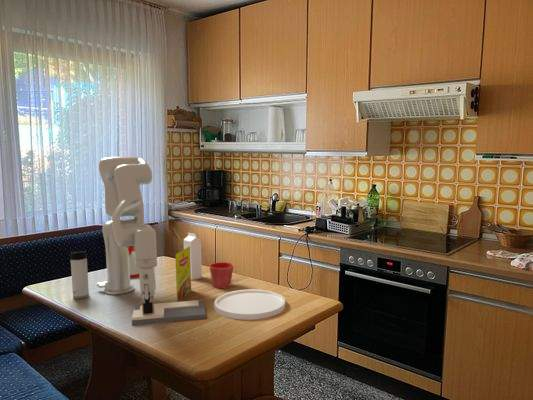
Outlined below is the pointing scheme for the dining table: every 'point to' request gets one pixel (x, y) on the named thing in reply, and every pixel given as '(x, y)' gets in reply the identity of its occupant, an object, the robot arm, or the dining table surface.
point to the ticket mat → (176, 312)
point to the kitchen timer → (132, 263)
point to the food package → (183, 273)
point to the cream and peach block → (156, 313)
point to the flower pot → (221, 274)
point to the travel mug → (79, 275)
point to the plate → (249, 304)
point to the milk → (194, 255)
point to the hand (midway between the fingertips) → (148, 310)
